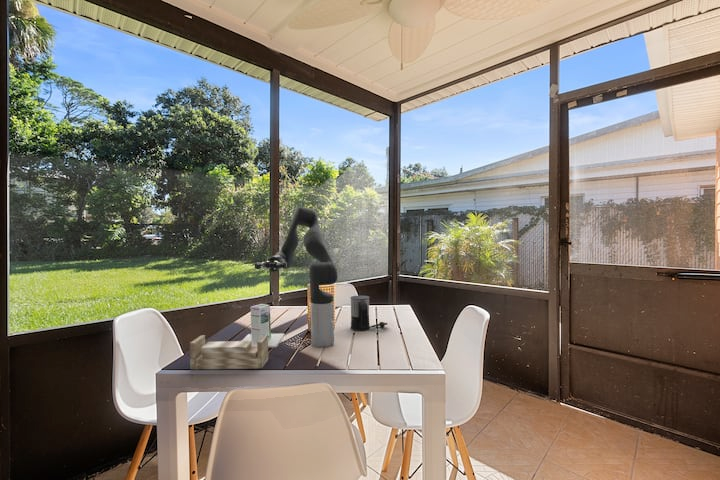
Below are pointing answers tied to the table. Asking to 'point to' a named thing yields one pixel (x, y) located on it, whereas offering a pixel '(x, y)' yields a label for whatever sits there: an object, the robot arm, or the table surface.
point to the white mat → (271, 342)
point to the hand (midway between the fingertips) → (267, 267)
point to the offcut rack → (228, 354)
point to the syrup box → (260, 321)
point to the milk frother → (361, 313)
